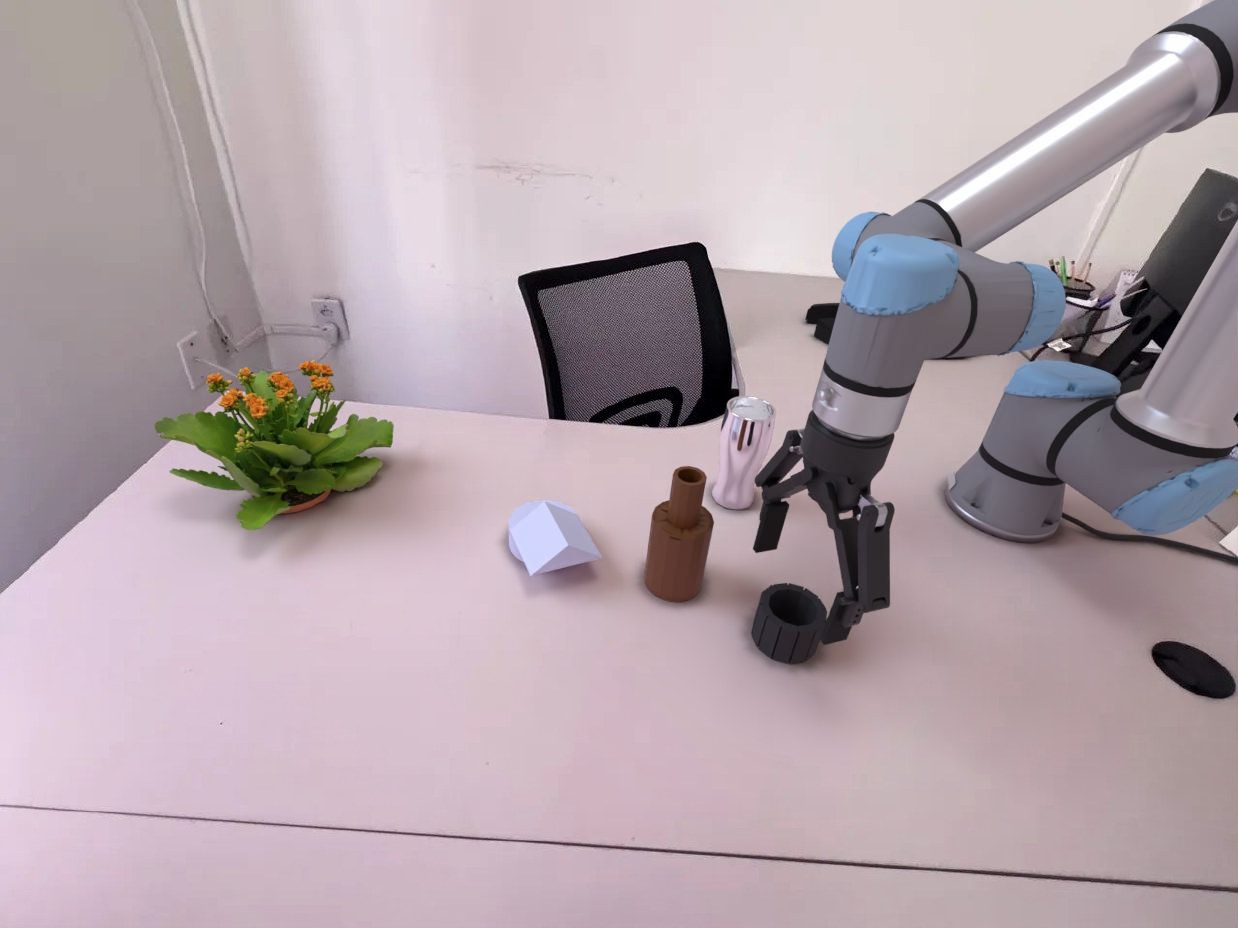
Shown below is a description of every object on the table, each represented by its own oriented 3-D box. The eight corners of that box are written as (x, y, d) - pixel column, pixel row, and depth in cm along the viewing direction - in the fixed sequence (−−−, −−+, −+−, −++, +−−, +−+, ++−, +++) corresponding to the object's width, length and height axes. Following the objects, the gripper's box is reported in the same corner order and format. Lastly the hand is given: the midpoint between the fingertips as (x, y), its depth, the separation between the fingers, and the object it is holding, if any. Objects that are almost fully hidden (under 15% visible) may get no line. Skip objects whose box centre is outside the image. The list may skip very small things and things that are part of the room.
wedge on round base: (601, 577, 80) (565, 514, 89) (604, 536, 76) (566, 474, 85) (530, 596, 76) (500, 528, 86) (530, 554, 72) (499, 487, 82)
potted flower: (337, 566, 78) (307, 444, 68) (141, 549, 78) (83, 425, 68) (404, 452, 99) (389, 345, 89) (249, 438, 99) (217, 330, 89)
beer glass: (755, 515, 92) (777, 425, 83) (706, 507, 93) (723, 416, 84) (757, 487, 97) (778, 399, 89) (710, 479, 98) (727, 391, 90)
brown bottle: (706, 569, 82) (727, 465, 73) (694, 608, 76) (715, 501, 67) (653, 555, 84) (667, 451, 74) (637, 592, 78) (650, 485, 69)
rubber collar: (817, 623, 76) (828, 593, 73) (813, 671, 70) (824, 640, 67) (756, 606, 77) (764, 576, 75) (747, 652, 72) (755, 621, 69)
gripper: (748, 361, 66) (713, 523, 78) (913, 512, 47) (834, 695, 59) (811, 356, 68) (768, 513, 80) (992, 498, 49) (901, 677, 61)
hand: (796, 591), depth 70 cm, fingers open, 13 cm apart
